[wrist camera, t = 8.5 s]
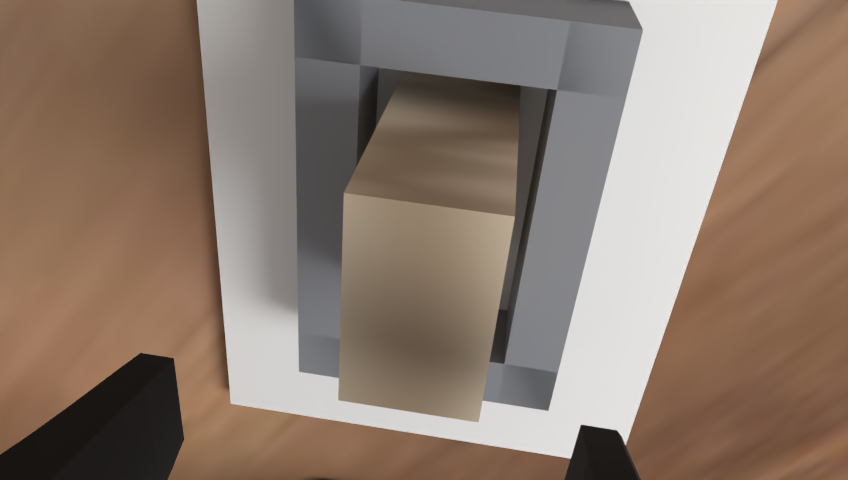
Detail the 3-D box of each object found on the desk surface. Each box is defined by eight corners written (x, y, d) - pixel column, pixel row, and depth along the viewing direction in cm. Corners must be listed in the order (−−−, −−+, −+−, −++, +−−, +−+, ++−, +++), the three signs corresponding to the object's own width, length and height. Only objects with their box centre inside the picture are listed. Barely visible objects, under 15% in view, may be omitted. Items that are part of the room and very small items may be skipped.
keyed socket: (616, 452, 25) (626, 527, 22) (236, 392, 26) (203, 457, 23) (838, -210, 15) (906, -214, 12) (184, -272, 15) (113, -289, 13)
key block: (520, 82, 18) (514, 216, 12) (494, 247, 21) (478, 422, 15) (405, 68, 18) (343, 193, 12) (393, 232, 21) (338, 400, 15)
